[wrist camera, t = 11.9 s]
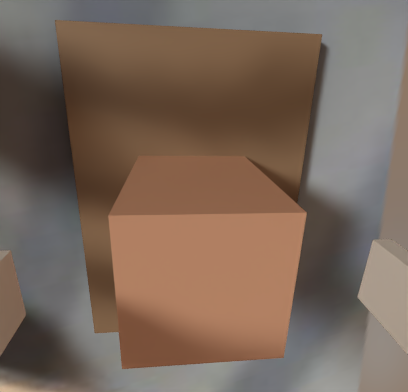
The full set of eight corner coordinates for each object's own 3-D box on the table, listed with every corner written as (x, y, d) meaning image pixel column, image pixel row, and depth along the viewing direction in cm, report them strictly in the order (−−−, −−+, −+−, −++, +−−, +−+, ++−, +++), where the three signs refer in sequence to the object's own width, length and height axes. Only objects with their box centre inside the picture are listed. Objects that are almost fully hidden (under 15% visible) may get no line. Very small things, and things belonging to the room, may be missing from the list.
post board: (62, 24, 15) (-42, -38, 8) (313, 37, 17) (426, -5, 9) (98, 322, 22) (60, 441, 15) (275, 313, 24) (323, 416, 16)
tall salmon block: (138, 155, 17) (107, 215, 9) (244, 156, 18) (307, 212, 10) (143, 250, 19) (122, 368, 11) (237, 247, 20) (283, 357, 12)
